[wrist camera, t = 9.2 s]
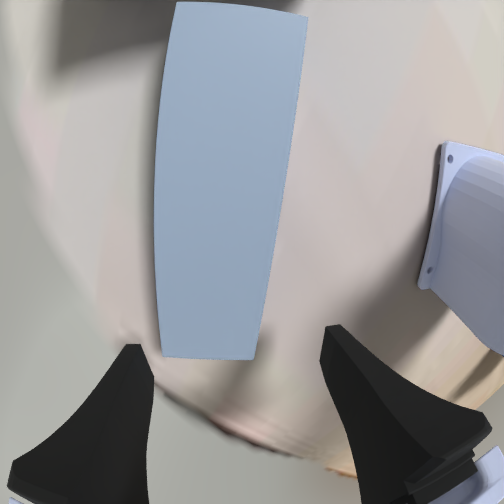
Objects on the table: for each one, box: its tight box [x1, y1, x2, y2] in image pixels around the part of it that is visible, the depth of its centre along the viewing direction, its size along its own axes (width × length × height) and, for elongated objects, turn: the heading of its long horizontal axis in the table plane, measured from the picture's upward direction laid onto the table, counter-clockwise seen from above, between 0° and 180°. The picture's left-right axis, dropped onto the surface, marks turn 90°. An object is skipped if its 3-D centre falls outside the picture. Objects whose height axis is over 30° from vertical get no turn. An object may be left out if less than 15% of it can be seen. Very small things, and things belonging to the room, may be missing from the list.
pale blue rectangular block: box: [154, 2, 308, 360], centre depth 11 cm, size 15×4×3 cm, turn 173°
